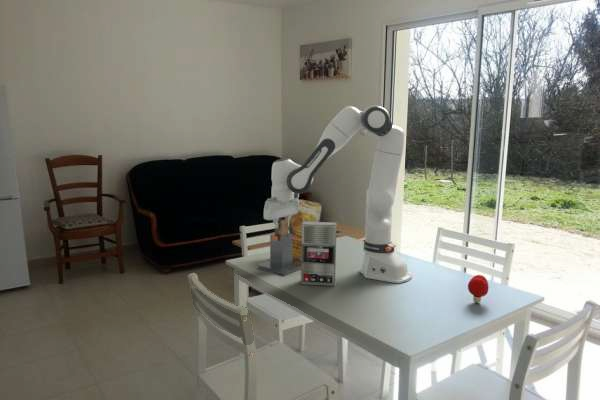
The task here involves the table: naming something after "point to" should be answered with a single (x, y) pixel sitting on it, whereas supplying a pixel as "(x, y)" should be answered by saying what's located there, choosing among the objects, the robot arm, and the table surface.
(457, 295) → the table surface
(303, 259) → the cassette tape recorder
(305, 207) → the pancake mix bag
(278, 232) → the post
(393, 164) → the robot arm
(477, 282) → the light bulb
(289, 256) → the stand
